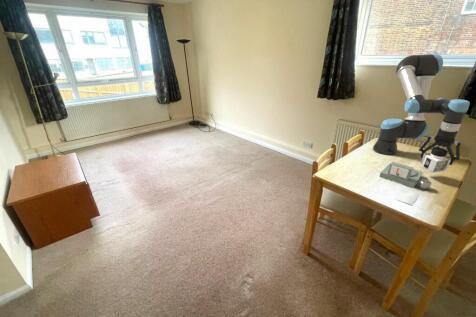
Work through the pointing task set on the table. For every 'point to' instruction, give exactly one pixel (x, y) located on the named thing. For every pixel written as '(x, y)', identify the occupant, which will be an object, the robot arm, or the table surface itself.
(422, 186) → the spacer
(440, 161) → the container
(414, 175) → the scale
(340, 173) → the table surface
